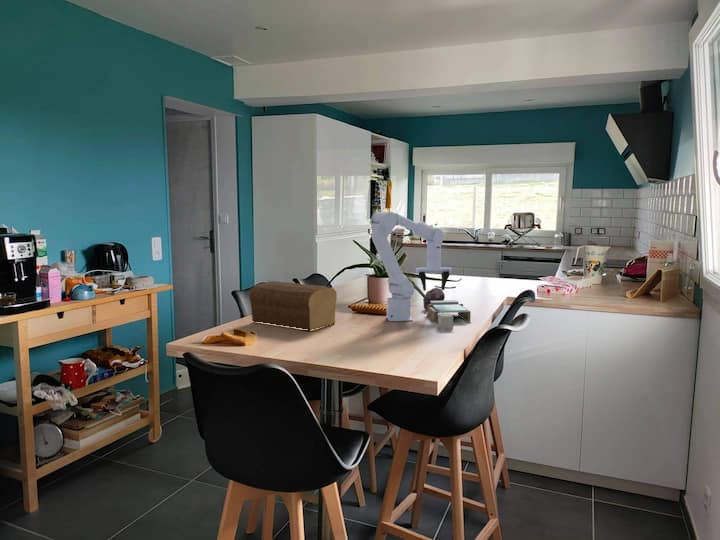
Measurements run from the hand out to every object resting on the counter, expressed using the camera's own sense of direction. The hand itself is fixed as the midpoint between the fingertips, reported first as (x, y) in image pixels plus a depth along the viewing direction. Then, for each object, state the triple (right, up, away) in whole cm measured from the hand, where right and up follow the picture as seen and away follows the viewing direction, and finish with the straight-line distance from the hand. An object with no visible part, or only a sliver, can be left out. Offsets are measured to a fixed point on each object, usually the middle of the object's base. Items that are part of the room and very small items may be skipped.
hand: (433, 290), depth 224 cm
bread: (-56, -13, -12) cm, 59 cm away
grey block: (+1, -11, -23) cm, 25 cm away
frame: (+5, -11, -6) cm, 14 cm away
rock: (+2, -9, +15) cm, 17 cm away
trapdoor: (+5, -8, -6) cm, 11 cm away
